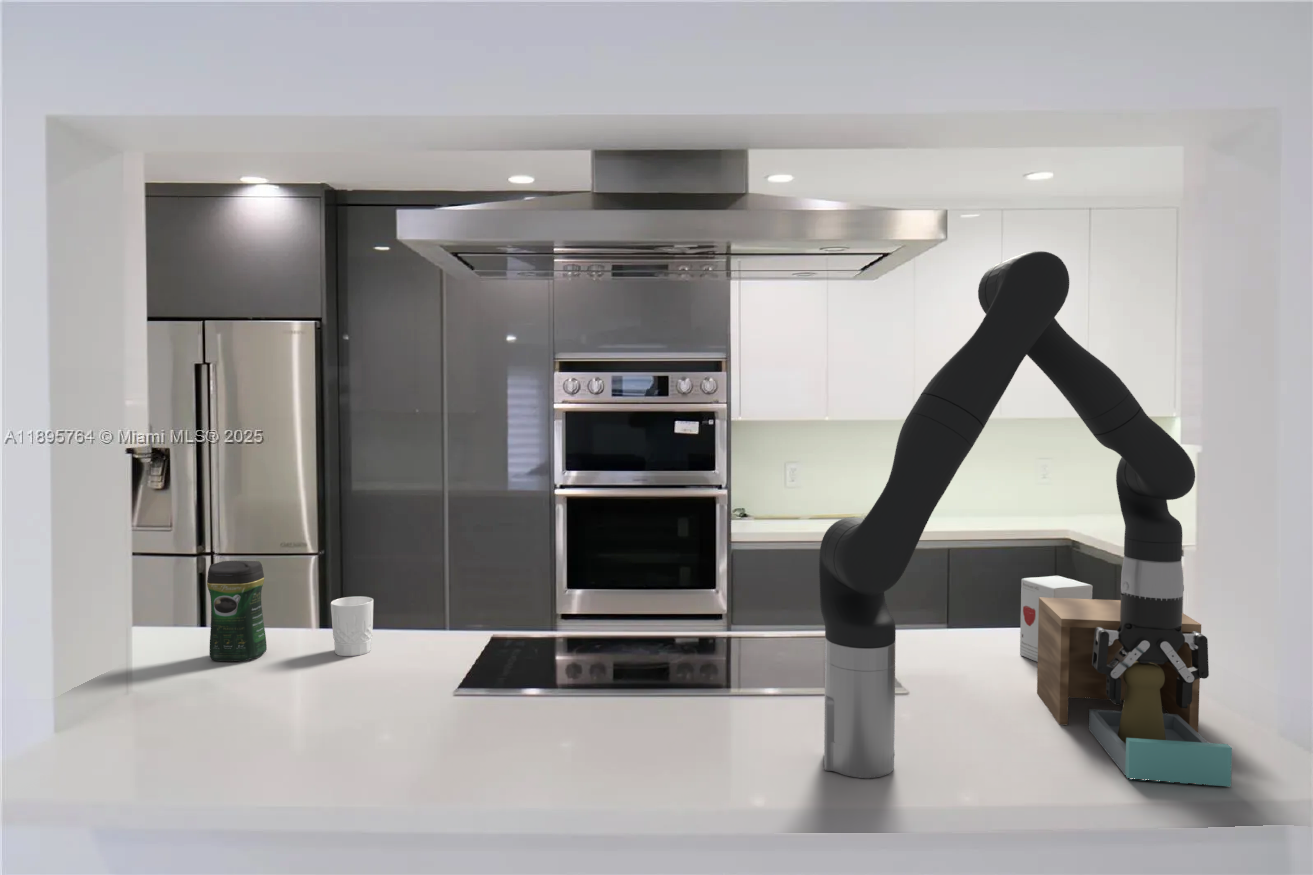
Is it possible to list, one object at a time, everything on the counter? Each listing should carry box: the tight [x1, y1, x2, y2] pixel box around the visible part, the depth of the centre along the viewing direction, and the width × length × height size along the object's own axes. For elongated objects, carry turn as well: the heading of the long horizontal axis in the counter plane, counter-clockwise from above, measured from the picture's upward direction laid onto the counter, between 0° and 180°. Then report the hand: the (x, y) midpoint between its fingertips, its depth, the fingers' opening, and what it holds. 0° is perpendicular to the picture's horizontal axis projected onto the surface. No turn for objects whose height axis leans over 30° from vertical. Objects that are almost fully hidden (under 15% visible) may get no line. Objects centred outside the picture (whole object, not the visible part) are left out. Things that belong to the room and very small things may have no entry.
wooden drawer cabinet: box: [1036, 597, 1202, 733], centre depth 138 cm, size 19×14×16 cm
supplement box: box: [1019, 575, 1094, 663], centre depth 165 cm, size 9×9×15 cm
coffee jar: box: [206, 560, 267, 662], centre depth 168 cm, size 10×8×19 cm
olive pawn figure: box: [1118, 661, 1166, 743], centre depth 124 cm, size 6×6×11 cm
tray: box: [1088, 708, 1233, 788], centre depth 121 cm, size 12×17×5 cm
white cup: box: [330, 595, 374, 657], centre depth 172 cm, size 8×8×10 cm
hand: (1148, 704), depth 123 cm, fingers open, 8 cm apart
